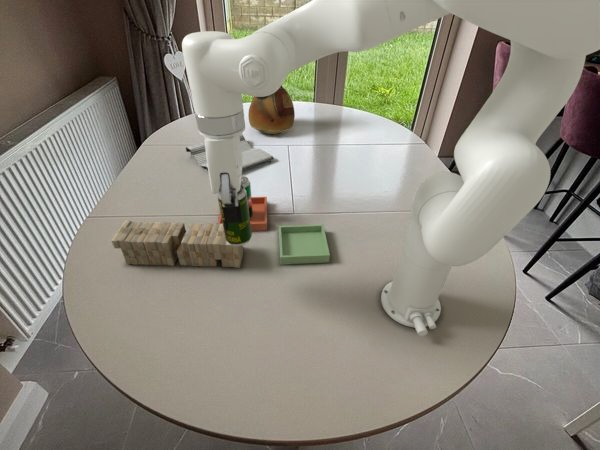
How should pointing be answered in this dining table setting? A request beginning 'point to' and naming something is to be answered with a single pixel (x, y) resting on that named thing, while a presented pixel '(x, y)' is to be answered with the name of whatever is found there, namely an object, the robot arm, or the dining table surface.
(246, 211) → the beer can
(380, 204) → the dining table surface
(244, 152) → the mat
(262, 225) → the terracotta tray
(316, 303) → the dining table surface
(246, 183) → the soda can
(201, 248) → the block tower
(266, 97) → the ceramic pitcher
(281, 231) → the green tray
